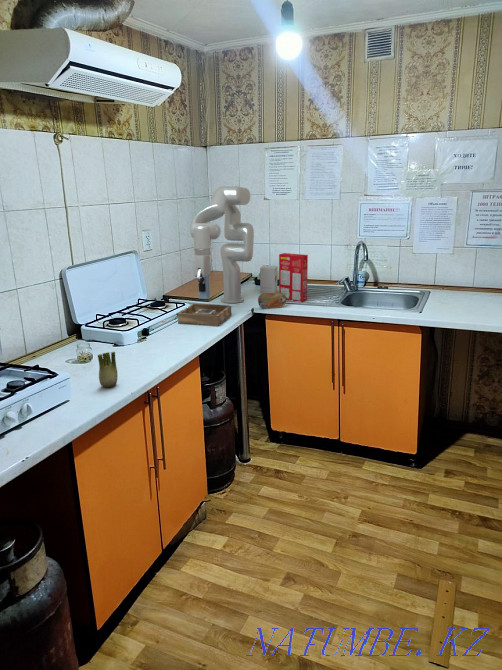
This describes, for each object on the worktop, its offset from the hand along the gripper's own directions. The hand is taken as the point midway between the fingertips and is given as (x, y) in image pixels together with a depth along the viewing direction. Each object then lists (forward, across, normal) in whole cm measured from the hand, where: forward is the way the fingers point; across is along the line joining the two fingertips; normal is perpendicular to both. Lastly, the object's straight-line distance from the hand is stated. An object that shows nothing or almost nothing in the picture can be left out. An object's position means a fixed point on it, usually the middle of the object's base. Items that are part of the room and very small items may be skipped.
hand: (204, 290), depth 247 cm
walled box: (+14, 0, 0) cm, 14 cm away
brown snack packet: (+15, -29, +26) cm, 42 cm away
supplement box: (+14, -66, +15) cm, 69 cm away
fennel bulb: (+15, +85, -2) cm, 86 cm away
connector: (+4, 0, 0) cm, 4 cm away
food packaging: (+14, -49, +33) cm, 61 cm away
